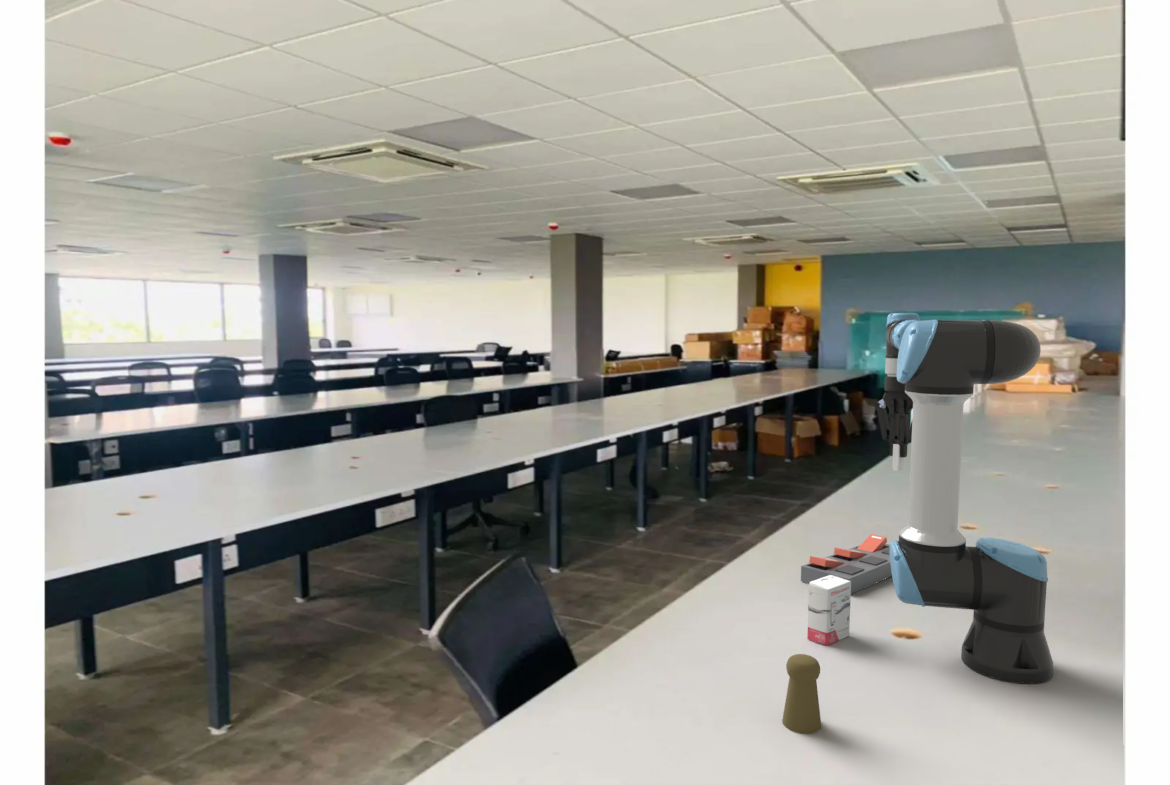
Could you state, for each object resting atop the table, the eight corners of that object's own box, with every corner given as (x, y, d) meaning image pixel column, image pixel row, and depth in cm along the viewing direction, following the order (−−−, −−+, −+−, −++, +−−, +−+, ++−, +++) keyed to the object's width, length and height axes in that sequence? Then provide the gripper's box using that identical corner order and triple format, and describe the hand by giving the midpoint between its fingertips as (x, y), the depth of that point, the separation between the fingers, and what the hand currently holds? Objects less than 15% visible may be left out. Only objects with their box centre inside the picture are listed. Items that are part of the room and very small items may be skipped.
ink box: (826, 646, 152) (828, 588, 151) (805, 639, 156) (807, 582, 155) (850, 635, 158) (852, 579, 157) (829, 628, 161) (831, 574, 160)
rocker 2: (864, 559, 201) (865, 553, 201) (849, 557, 196) (850, 550, 196) (849, 555, 204) (850, 549, 204) (833, 553, 199) (834, 547, 199)
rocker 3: (887, 542, 208) (886, 536, 208) (872, 557, 204) (871, 552, 203) (871, 538, 212) (871, 533, 211) (857, 553, 207) (856, 548, 207)
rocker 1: (841, 568, 193) (842, 561, 193) (824, 566, 188) (825, 559, 188) (825, 564, 197) (826, 557, 197) (809, 562, 191) (810, 555, 192)
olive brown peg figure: (814, 714, 126) (815, 649, 125) (826, 733, 120) (828, 665, 119) (777, 714, 125) (779, 649, 124) (788, 734, 119) (790, 665, 118)
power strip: (931, 559, 210) (932, 544, 210) (848, 595, 181) (848, 577, 181) (886, 549, 220) (887, 534, 219) (800, 581, 191) (801, 564, 191)
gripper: (934, 376, 187) (930, 471, 189) (883, 373, 196) (880, 464, 198) (920, 377, 182) (916, 475, 184) (868, 374, 192) (865, 468, 193)
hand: (897, 469), depth 191 cm, fingers closed
